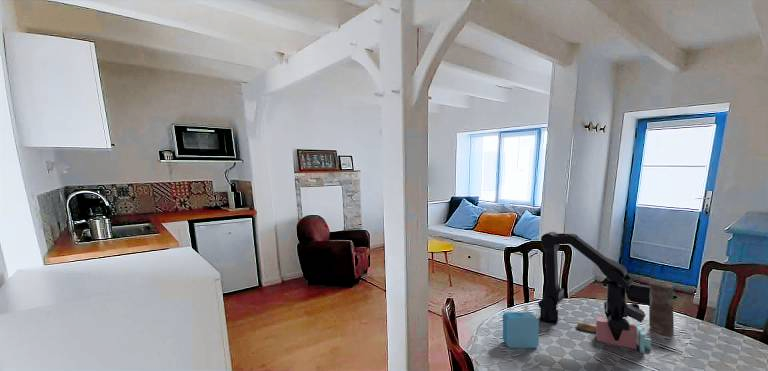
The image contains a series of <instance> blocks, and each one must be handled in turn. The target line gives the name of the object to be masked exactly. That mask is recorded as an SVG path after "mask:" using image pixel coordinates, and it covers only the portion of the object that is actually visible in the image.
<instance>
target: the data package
mask: <svg viewBox="0 0 768 371" xmlns="http://www.w3.org/2000/svg"><path fill="white" fill-rule="evenodd" d="M539 321H540V320H539V319H538V318H537V317H536V316H535V315H534V313H533V312H531V311H521V312H519V311H517V312H516V311H515V312H514V311H512V312H511V311H509V312H504V313H503V314H502V340H503V341H504V342H505V344H506V346H507V347H508V348H509V349H536V348H538V347H539V342H540V341H539V339H540V338H539V334H540V333H539V330H540V329H539V326H540V325H539V324H540V322H539Z"/></svg>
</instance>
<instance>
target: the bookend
mask: <svg viewBox="0 0 768 371" xmlns="http://www.w3.org/2000/svg"><path fill="white" fill-rule="evenodd" d="M635 326H636V328H637V348H638V349H637V350H638V352H639V354H643V355H644V354H645V350H647V351H651V350H652V339H651V337H650V338H648V337H645V333H644V330H643V328H642V325H641V324H640V323H639V324H637V323H636V324H635Z"/></svg>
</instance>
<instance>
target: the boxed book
mask: <svg viewBox="0 0 768 371" xmlns="http://www.w3.org/2000/svg"><path fill="white" fill-rule="evenodd" d="M595 318H596V319H595V321H596V322H595V323H596V332H595V333H596V334H595V336H596V341H598V342H602V343H607V344H611V345H614V346H620V347H624V348H628V349H632V350H637V348H638V346H637V328H636V324H635V323H631V322H629V325H630V331H626V330H622V333H621V335H620V338H619V341H616V340H615V339H614V337H613V335H612V333H611V330H610V328H609V326H608V324H607V317H606V318H605V317H601V316H596V317H595Z"/></svg>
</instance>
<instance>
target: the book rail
mask: <svg viewBox="0 0 768 371" xmlns="http://www.w3.org/2000/svg"><path fill="white" fill-rule="evenodd" d="M577 329H578V330H583V331H587V332H591V333H596V324H595V323H590V322H586V321H580V320H577Z"/></svg>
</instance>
